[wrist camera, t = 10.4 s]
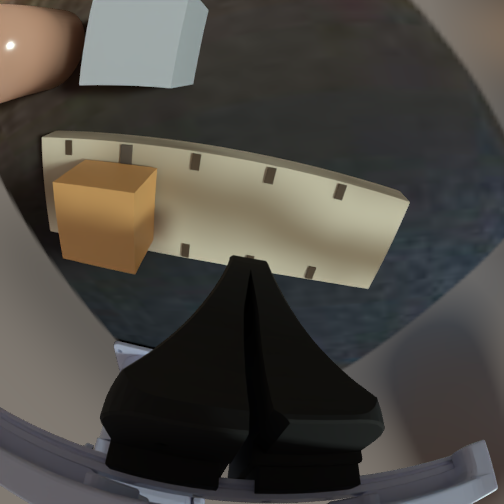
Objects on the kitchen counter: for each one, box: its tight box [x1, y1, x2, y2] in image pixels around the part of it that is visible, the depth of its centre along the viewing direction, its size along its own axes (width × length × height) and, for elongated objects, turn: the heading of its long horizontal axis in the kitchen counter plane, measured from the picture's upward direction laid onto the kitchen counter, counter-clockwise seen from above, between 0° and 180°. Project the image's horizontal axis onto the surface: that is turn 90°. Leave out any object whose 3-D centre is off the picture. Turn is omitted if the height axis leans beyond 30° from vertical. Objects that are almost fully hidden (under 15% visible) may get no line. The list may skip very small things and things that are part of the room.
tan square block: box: [53, 160, 157, 274], centre depth 13 cm, size 4×4×3 cm
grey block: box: [79, 0, 208, 88], centre depth 10 cm, size 4×4×4 cm
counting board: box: [42, 131, 410, 289], centre depth 15 cm, size 6×20×2 cm, turn 79°
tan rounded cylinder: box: [0, 4, 85, 103], centre depth 8 cm, size 5×5×6 cm
